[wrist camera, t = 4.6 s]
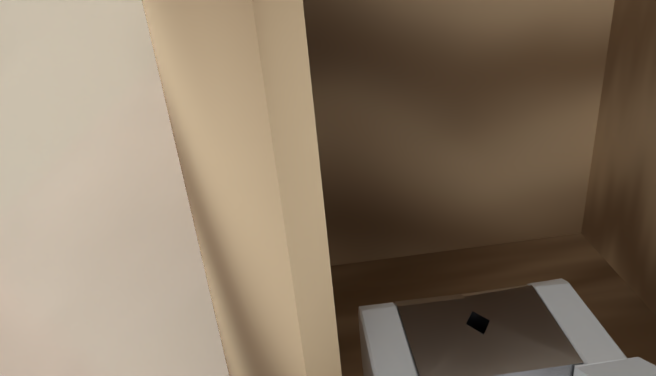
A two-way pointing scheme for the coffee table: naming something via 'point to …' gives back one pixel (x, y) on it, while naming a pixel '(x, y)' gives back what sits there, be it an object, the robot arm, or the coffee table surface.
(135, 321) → the coffee table surface
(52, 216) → the coffee table surface
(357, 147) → the wooden flap box
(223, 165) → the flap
